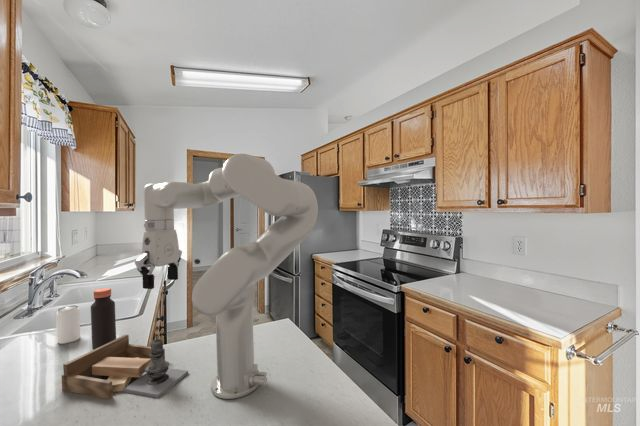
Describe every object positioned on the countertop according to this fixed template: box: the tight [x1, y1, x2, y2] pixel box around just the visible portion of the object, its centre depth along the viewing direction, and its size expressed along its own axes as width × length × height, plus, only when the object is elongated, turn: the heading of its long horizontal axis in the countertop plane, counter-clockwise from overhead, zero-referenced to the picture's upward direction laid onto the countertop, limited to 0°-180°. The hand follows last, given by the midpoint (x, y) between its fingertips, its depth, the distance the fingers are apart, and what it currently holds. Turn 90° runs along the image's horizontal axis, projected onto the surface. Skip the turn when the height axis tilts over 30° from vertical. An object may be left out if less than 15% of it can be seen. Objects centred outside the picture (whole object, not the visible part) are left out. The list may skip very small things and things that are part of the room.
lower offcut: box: [106, 357, 139, 393], centre depth 83 cm, size 5×14×2 cm, turn 19°
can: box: [55, 305, 81, 345], centre depth 107 cm, size 6×6×12 cm
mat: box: [123, 367, 189, 399], centre depth 80 cm, size 11×11×1 cm
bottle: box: [90, 287, 117, 350], centre depth 102 cm, size 7×7×20 cm
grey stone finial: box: [145, 336, 171, 385], centre depth 80 cm, size 6×6×12 cm
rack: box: [61, 334, 166, 400], centre depth 85 cm, size 16×18×7 cm
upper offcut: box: [92, 357, 151, 378], centre depth 83 cm, size 5×14×2 cm, turn 84°
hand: (161, 283), depth 86 cm, fingers open, 9 cm apart
